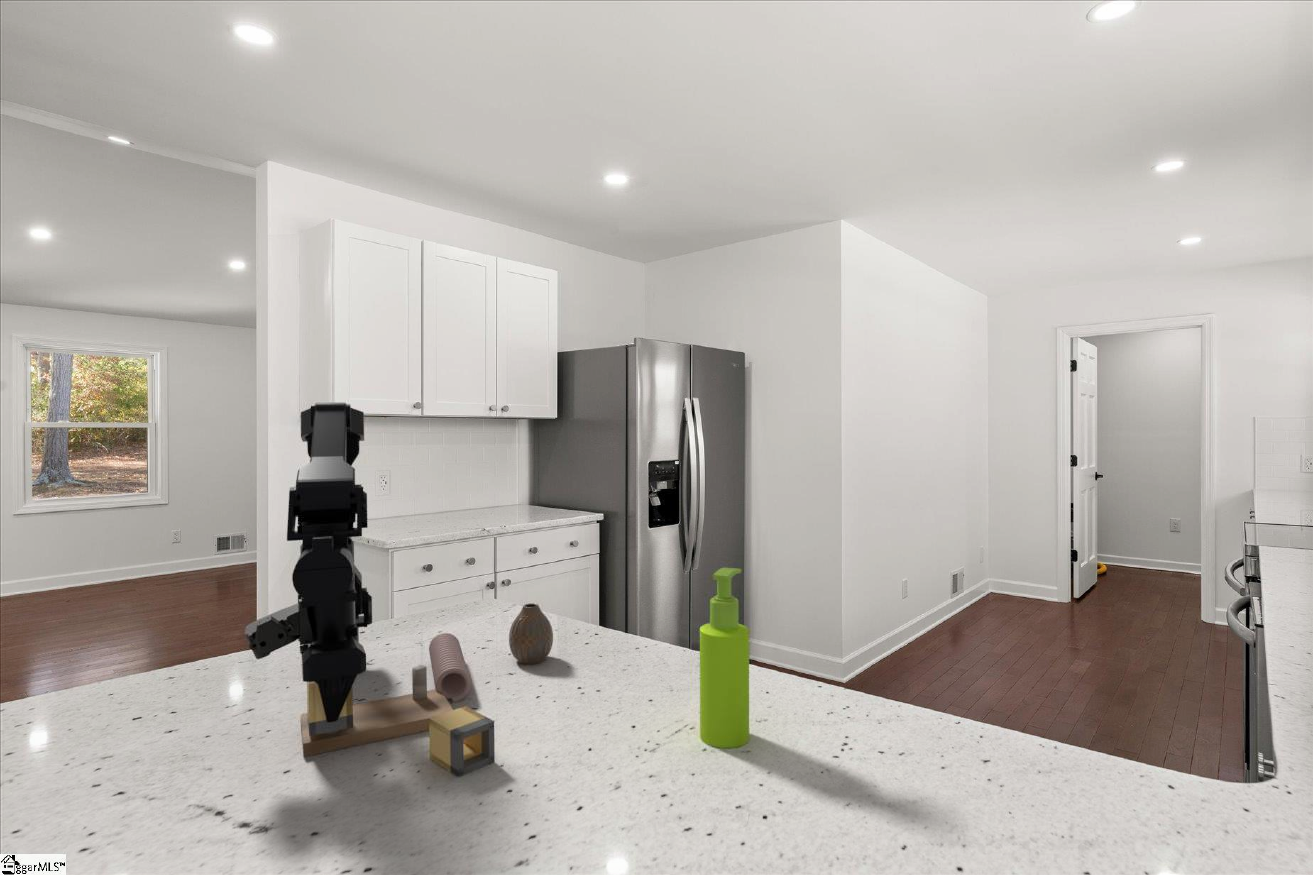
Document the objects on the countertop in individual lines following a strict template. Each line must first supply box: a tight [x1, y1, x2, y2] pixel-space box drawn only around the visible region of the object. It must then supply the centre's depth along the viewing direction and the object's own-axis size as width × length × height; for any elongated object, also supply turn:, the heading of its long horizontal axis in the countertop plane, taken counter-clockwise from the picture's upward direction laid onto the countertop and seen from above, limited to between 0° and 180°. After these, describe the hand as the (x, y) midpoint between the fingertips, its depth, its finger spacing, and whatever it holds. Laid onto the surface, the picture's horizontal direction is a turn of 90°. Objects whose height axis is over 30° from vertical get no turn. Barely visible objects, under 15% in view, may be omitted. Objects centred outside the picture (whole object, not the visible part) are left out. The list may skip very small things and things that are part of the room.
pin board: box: [300, 665, 454, 758], centre depth 88 cm, size 9×17×6 cm, turn 119°
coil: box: [428, 632, 472, 703], centre depth 103 cm, size 5×5×18 cm
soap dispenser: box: [699, 567, 750, 749], centre depth 84 cm, size 6×7×20 cm
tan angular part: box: [428, 705, 496, 778], centre depth 79 cm, size 5×5×6 cm
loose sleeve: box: [306, 681, 354, 736], centre depth 83 cm, size 5×5×6 cm
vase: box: [508, 603, 554, 665], centre depth 111 cm, size 7×7×9 cm
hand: (330, 713), depth 83 cm, fingers closed on loose sleeve, 5 cm apart
